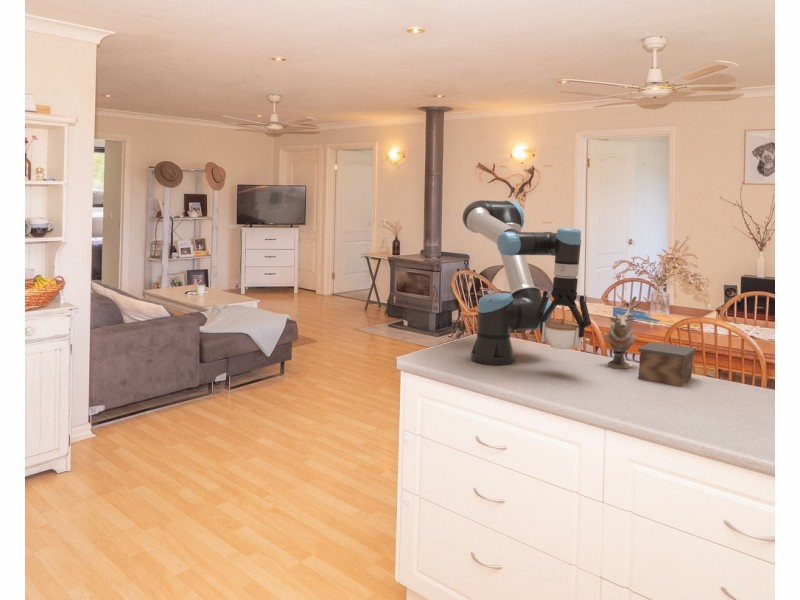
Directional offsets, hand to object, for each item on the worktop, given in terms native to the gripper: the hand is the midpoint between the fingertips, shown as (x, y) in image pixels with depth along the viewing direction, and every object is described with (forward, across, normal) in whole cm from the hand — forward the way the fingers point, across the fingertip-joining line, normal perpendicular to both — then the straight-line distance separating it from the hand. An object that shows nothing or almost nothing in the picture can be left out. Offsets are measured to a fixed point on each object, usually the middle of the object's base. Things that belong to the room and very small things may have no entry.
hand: (560, 344), depth 206 cm
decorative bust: (+10, +12, +23) cm, 27 cm away
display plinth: (+10, +28, +19) cm, 35 cm away
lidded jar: (+1, 0, 0) cm, 1 cm away
